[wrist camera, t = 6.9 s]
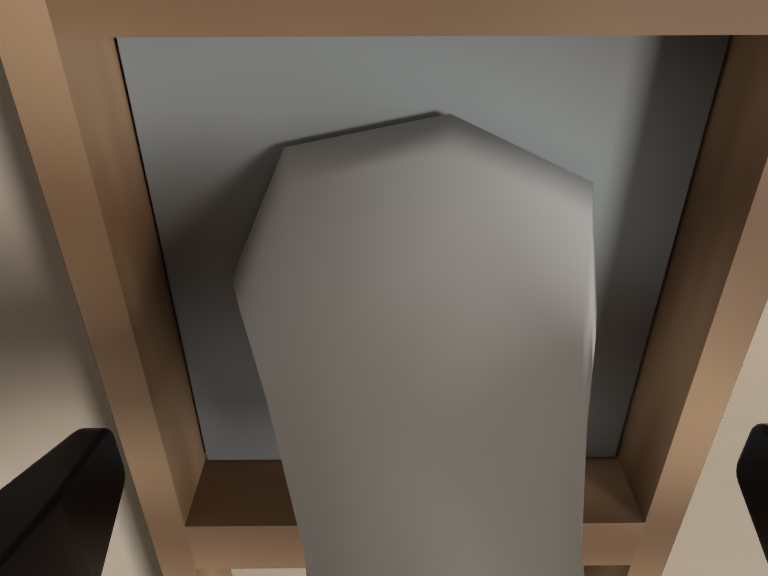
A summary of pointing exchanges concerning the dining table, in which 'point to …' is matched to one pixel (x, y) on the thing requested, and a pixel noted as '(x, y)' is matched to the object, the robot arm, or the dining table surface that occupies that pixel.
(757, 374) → the dining table surface
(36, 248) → the dining table surface
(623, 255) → the caddy
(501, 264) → the flask
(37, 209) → the dining table surface
